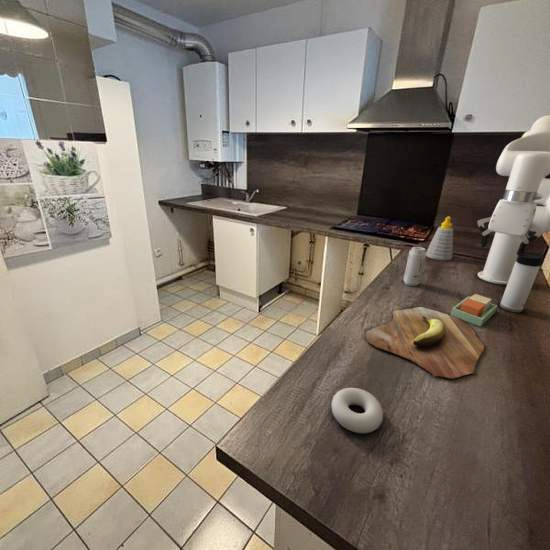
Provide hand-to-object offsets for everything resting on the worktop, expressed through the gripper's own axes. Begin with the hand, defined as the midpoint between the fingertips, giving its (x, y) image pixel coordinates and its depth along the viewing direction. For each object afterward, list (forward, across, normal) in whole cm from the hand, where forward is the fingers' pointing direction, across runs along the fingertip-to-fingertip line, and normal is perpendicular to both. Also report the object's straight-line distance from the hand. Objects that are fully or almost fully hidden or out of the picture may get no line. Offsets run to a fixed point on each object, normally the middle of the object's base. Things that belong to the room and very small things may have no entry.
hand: (500, 250), depth 95 cm
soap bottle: (+22, +33, -42) cm, 58 cm away
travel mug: (+21, -7, -5) cm, 23 cm away
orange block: (+19, 0, +13) cm, 23 cm away
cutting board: (+20, +4, +35) cm, 40 cm away
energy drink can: (+21, +25, +3) cm, 32 cm away
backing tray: (+20, 0, +10) cm, 22 cm away
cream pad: (+20, 0, +6) cm, 21 cm away
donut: (+18, 0, +75) cm, 77 cm away
